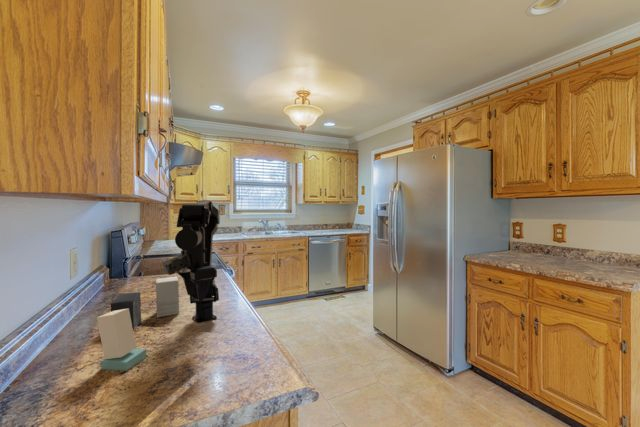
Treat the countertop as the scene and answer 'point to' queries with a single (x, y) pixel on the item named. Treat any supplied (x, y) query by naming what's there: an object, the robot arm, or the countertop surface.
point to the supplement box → (167, 296)
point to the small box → (129, 306)
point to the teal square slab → (124, 360)
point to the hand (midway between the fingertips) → (195, 297)
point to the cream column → (116, 333)
